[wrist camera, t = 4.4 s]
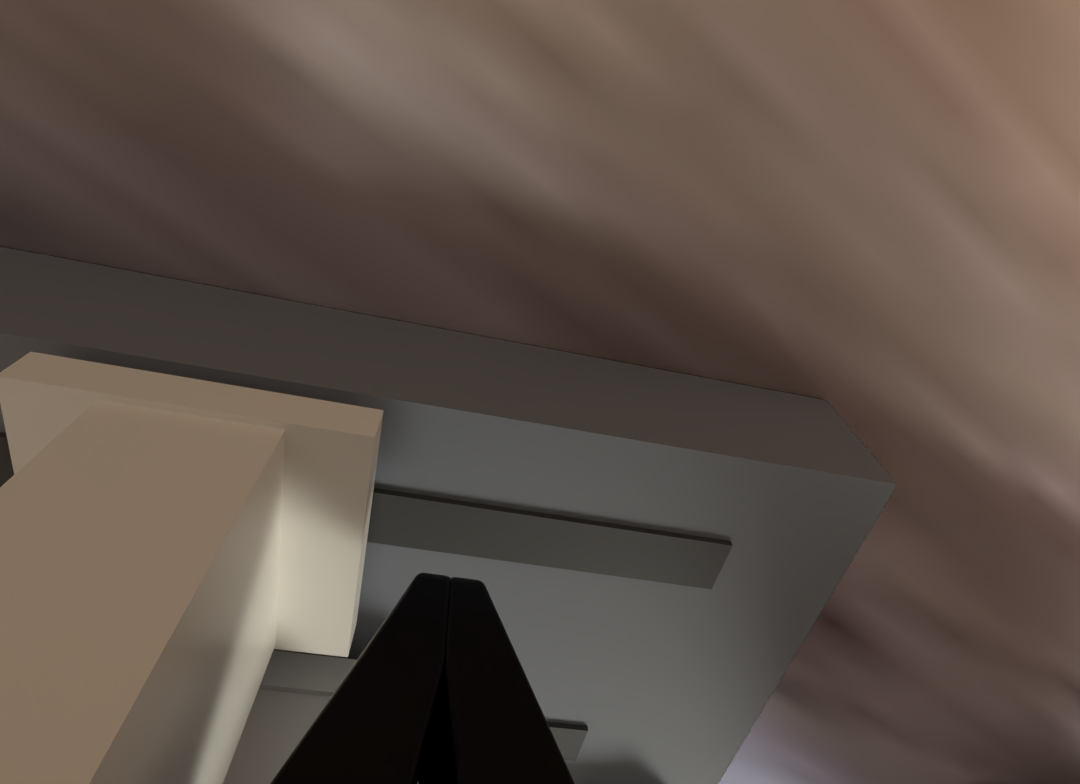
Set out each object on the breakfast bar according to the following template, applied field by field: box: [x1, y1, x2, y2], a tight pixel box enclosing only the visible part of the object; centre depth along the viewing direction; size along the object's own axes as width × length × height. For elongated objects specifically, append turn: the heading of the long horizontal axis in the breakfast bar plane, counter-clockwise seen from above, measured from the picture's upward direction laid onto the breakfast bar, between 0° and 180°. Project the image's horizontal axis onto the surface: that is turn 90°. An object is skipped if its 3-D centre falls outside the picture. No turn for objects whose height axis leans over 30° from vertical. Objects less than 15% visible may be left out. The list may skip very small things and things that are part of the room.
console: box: [0, 247, 897, 784], centre depth 10 cm, size 18×14×7 cm
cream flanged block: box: [0, 352, 384, 784], centre depth 7 cm, size 4×4×5 cm
